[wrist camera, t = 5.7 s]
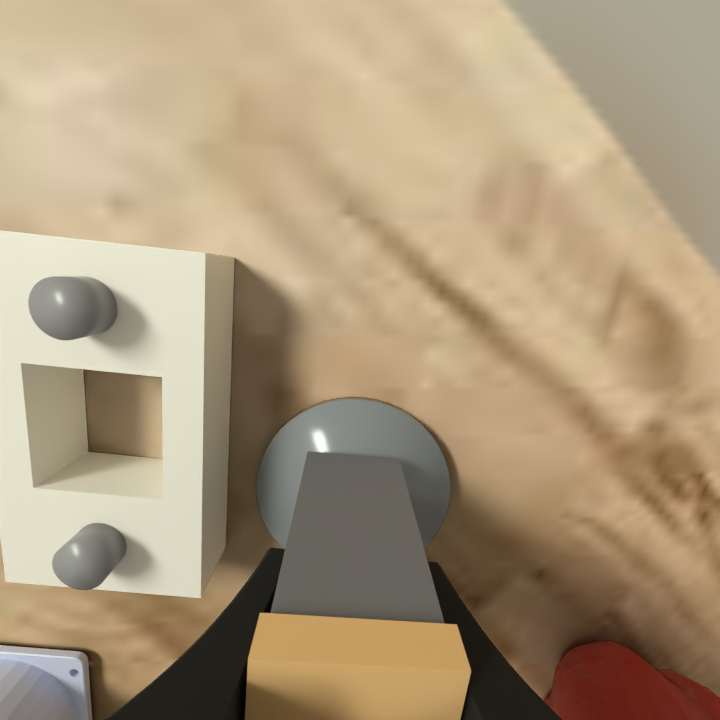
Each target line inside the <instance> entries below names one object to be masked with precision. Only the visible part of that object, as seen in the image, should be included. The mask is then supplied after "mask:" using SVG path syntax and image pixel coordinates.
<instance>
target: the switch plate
mask: <svg viewBox="0 0 720 720" xmlns="http://www.w3.org/2000/svg"><path fill="white" fill-rule="evenodd" d="M234 260H235V257H228V256H222V255H215V254H208V253H200V252H191V251H182V250H173V249H164V248H155V247H146V246H137V245H128V244H118V243H109V242H100V241H91V240H82V239H73V238H64V237H55V236H46V235H37V234H28V233H19V232H9V231H0V539H1V547H2V555H3V563H4V571H5V579H6V582H15V583H27V584H39V585H50V586H62V587H71V588H74V589H78V590H89V589H98V590H110V591H122V592H134V593H146V594H158V595H170V596H181V597H193V598H201V597H202V595H203V592H204V590H205V588H206V586H207V584H208V582H209V580H210V578H211V576H212V574H213V572H214V570H215V568H216V566H217V564H218V562H219V560H220V558H221V556H222V554H223V552H224V549H225V547H226V523H227V490H228V457H229V424H230V391H231V359H232V326H233V293H234ZM83 369H86V370H96V371H106V372H116V373H126V374H136V375H145V376H155V377H162V424H163V459H159V458H148V457H137V456H127V455H116V454H106V453H95V452H88V438H87V422H86V405H85V389H84V372H83Z"/></svg>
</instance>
